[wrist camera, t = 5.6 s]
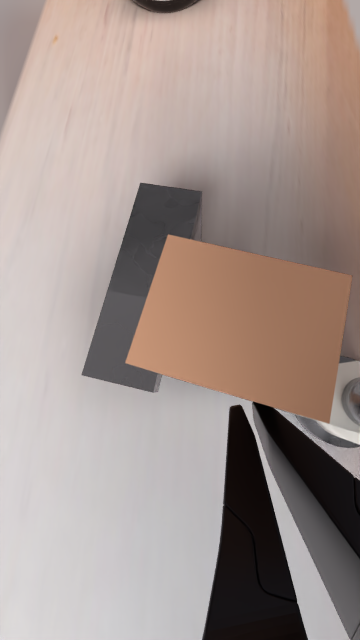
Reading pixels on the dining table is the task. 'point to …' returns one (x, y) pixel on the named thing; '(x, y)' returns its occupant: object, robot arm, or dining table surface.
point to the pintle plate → (321, 431)
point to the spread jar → (165, 5)
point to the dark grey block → (139, 280)
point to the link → (249, 330)
